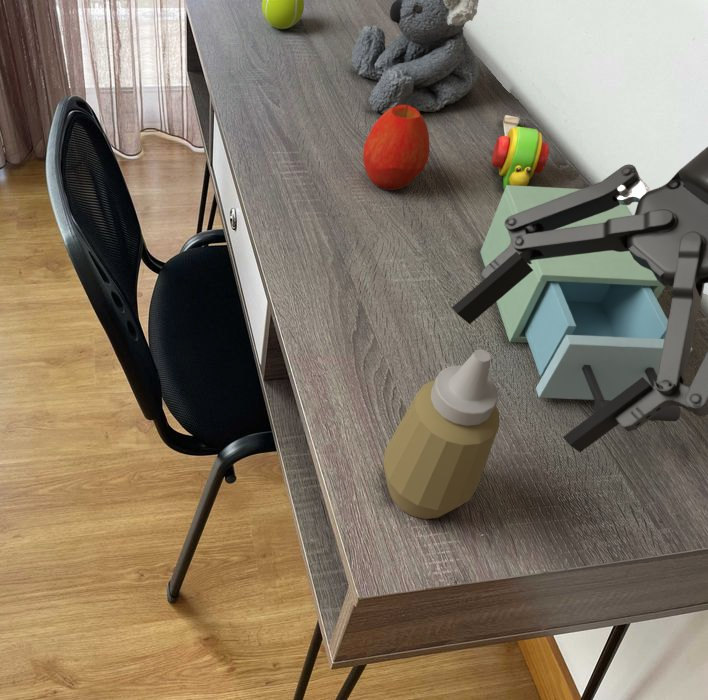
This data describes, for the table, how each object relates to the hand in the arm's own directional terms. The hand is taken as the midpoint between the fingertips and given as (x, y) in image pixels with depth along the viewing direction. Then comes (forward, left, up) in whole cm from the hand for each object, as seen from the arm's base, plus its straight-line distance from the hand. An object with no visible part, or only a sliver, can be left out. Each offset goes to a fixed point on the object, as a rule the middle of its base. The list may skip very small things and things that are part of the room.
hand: (511, 376), depth 56 cm
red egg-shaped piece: (+44, -10, -14) cm, 47 cm away
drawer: (+8, -17, -13) cm, 23 cm away
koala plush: (+66, -23, -14) cm, 71 cm away
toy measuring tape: (+46, -29, -14) cm, 56 cm away
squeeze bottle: (-1, +4, -14) cm, 15 cm away
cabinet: (+20, -20, -14) cm, 31 cm away
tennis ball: (+89, -8, -14) cm, 90 cm away
